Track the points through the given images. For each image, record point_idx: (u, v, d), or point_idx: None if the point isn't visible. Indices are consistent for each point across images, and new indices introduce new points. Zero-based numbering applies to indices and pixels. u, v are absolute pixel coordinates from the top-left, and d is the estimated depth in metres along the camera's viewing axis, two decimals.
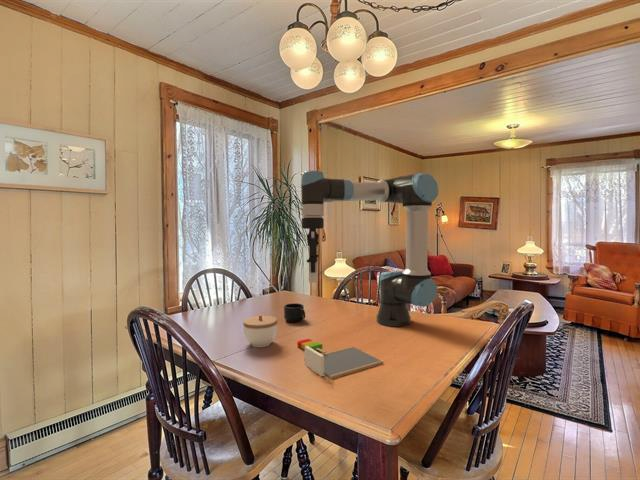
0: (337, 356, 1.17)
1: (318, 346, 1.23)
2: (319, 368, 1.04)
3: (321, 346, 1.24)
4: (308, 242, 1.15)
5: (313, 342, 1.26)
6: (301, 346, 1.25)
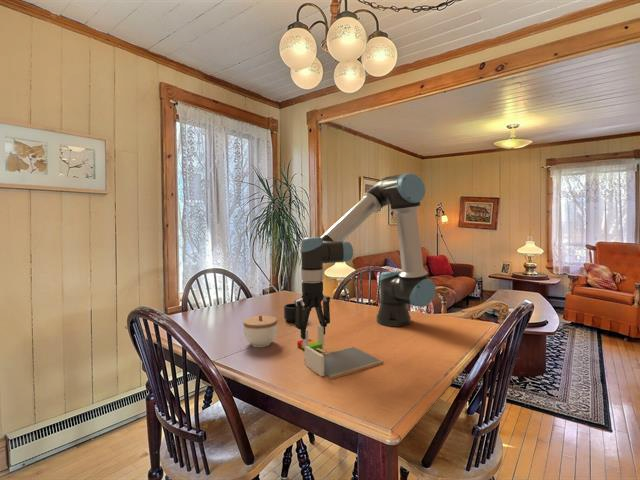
0: (337, 356, 1.17)
1: (318, 346, 1.23)
2: (319, 368, 1.04)
3: (321, 346, 1.24)
4: None
5: (313, 342, 1.26)
6: (301, 346, 1.25)
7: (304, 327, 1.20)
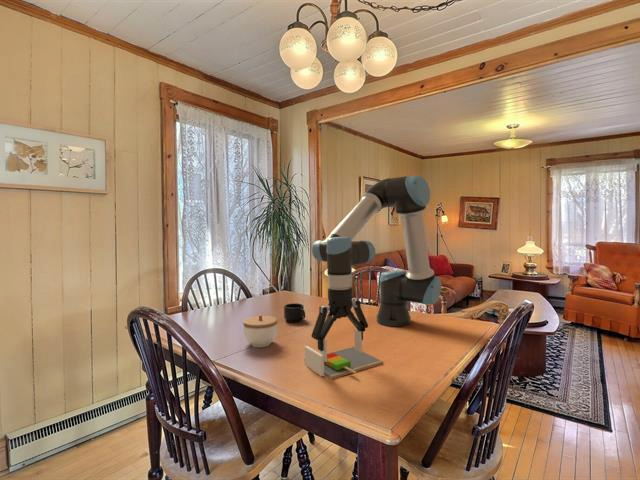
0: None
1: (346, 364, 1.07)
2: (319, 368, 1.04)
3: (349, 364, 1.08)
4: (327, 315, 1.07)
5: (340, 358, 1.10)
6: (326, 362, 1.10)
7: (322, 337, 1.03)
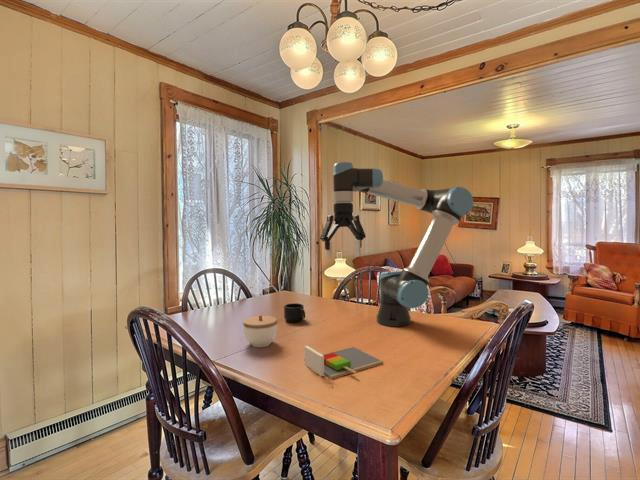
0: None
1: (346, 364, 1.07)
2: (319, 368, 1.04)
3: (349, 364, 1.08)
4: (333, 224, 1.35)
5: (340, 358, 1.10)
6: (326, 362, 1.10)
7: (329, 238, 1.31)
